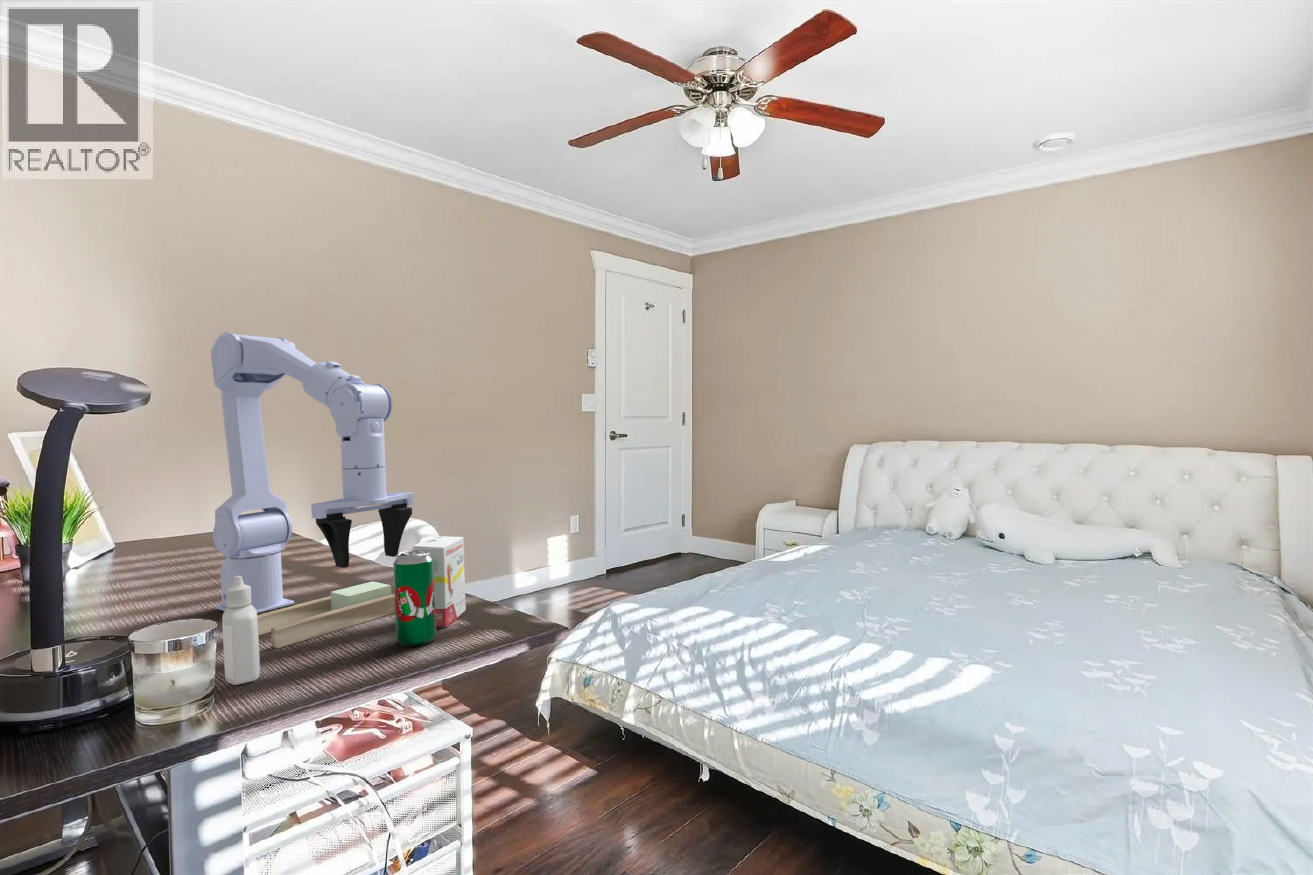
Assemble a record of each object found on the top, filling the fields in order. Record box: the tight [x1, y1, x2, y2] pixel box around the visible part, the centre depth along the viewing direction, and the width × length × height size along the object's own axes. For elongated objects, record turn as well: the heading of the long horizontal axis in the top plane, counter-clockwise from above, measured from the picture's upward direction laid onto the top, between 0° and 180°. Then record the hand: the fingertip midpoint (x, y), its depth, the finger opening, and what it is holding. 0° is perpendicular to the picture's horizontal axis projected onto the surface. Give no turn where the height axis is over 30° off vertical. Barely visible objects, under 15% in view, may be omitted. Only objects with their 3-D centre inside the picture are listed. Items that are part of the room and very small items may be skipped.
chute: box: [257, 593, 395, 649], centre depth 95 cm, size 10×20×2 cm, turn 147°
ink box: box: [412, 535, 467, 628], centre depth 95 cm, size 9×5×12 cm, turn 177°
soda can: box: [392, 549, 437, 648], centre depth 86 cm, size 5×5×12 cm
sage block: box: [330, 581, 392, 611], centre depth 99 cm, size 5×7×4 cm
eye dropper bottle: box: [221, 576, 261, 686], centre depth 75 cm, size 4×6×12 cm
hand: (367, 561), depth 92 cm, fingers open, 7 cm apart
